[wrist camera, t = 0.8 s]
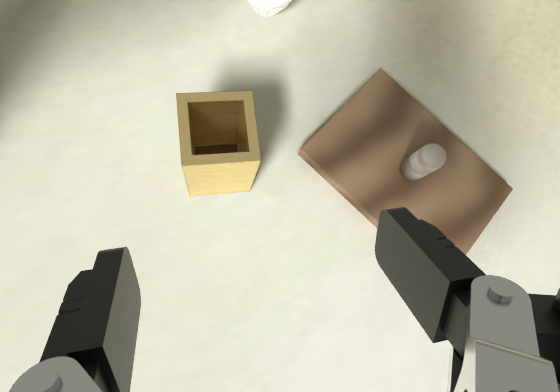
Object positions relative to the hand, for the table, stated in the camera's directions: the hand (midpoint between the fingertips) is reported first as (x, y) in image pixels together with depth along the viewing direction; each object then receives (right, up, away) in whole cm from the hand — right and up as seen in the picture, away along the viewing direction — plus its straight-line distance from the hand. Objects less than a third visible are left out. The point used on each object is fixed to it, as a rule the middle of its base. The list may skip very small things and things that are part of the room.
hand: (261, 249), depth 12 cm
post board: (+14, +4, +30) cm, 33 cm away
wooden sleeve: (-6, +5, +26) cm, 27 cm away
